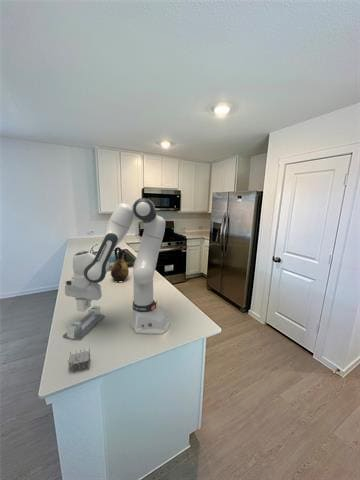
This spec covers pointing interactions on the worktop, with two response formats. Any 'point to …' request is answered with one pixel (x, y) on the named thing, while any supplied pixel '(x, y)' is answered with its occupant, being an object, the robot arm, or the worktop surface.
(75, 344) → the worktop surface
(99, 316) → the rail plate
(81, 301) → the block
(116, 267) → the ceramic jug
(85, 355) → the building frame
